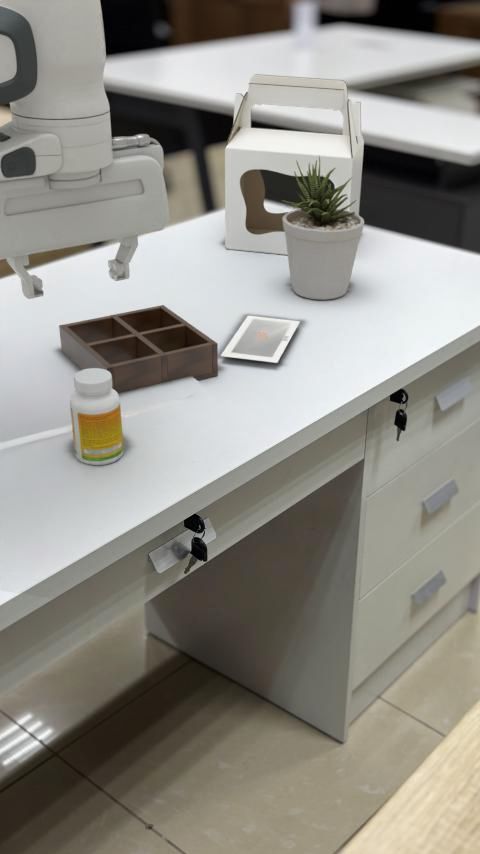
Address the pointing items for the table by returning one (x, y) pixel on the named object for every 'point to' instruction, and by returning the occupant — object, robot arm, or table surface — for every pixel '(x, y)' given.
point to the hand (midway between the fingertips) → (77, 287)
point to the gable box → (286, 156)
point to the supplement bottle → (96, 418)
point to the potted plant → (321, 239)
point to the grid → (141, 348)
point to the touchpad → (261, 339)
